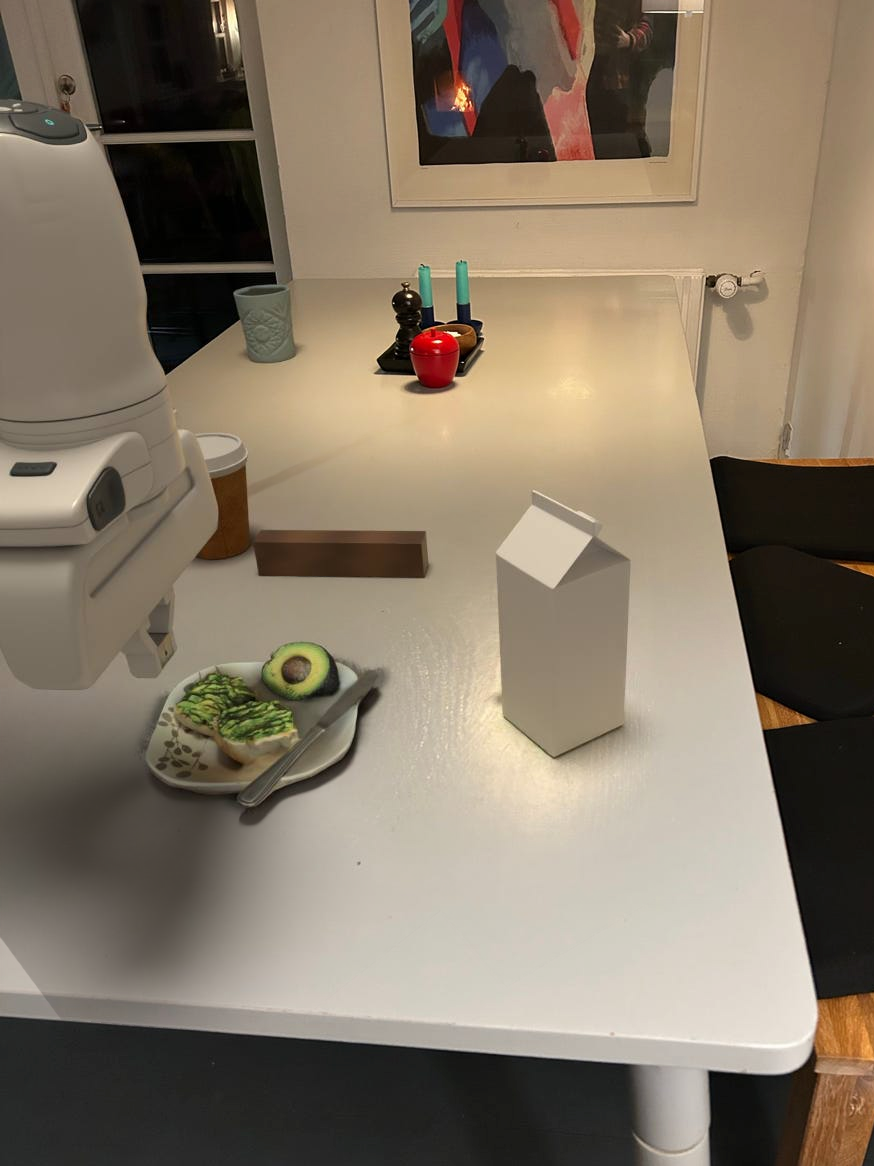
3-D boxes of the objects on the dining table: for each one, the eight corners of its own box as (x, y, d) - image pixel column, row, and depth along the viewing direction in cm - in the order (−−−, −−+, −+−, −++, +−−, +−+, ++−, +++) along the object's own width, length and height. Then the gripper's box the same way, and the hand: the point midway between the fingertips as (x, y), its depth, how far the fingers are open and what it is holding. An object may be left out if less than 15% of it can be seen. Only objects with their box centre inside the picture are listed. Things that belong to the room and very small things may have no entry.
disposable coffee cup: (193, 530, 112) (171, 432, 106) (272, 528, 112) (255, 430, 105) (168, 567, 104) (142, 464, 98) (253, 565, 104) (233, 461, 97)
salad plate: (362, 820, 68) (355, 770, 66) (116, 829, 68) (100, 779, 66) (384, 670, 85) (379, 626, 82) (186, 678, 85) (175, 634, 82)
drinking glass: (262, 367, 171) (251, 298, 165) (234, 357, 178) (222, 291, 171) (309, 355, 177) (300, 287, 171) (280, 346, 183) (270, 281, 177)
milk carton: (554, 759, 73) (552, 536, 63) (501, 715, 78) (492, 502, 68) (624, 726, 76) (633, 508, 66) (569, 686, 81) (570, 478, 71)
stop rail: (258, 575, 101) (252, 541, 99) (267, 562, 104) (261, 529, 102) (424, 577, 99) (421, 543, 97) (428, 564, 102) (425, 530, 100)
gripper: (121, 389, 59) (171, 583, 67) (-74, 529, 42) (22, 770, 50) (218, 387, 59) (258, 583, 66) (58, 529, 41) (136, 773, 49)
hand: (155, 665), depth 58 cm, fingers closed
